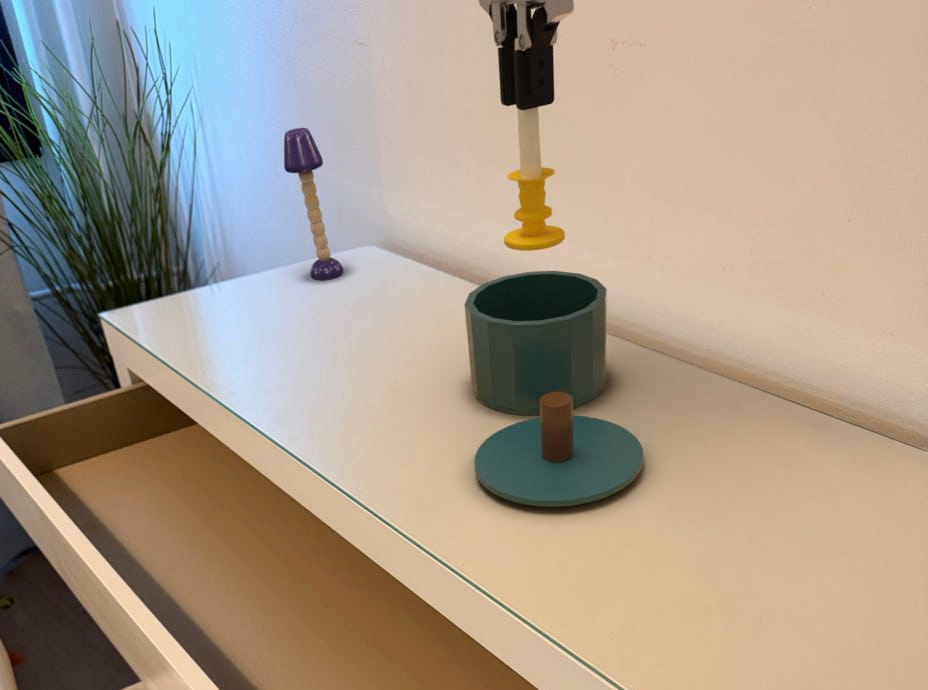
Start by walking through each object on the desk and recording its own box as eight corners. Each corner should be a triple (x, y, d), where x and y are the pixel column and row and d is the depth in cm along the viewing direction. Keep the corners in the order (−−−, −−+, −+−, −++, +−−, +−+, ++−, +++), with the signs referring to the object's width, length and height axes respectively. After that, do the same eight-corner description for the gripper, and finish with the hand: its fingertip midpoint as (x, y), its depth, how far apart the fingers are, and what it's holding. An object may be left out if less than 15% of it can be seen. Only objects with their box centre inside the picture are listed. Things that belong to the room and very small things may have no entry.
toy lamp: (310, 283, 117) (281, 137, 106) (303, 272, 121) (274, 130, 110) (347, 275, 118) (322, 129, 107) (338, 265, 121) (313, 122, 111)
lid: (526, 416, 85) (522, 351, 81) (669, 445, 78) (673, 375, 74) (443, 490, 76) (435, 422, 72) (597, 529, 70) (597, 456, 66)
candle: (495, 239, 82) (480, 30, 72) (550, 227, 83) (542, 19, 73) (517, 255, 78) (504, 36, 68) (574, 242, 79) (569, 24, 69)
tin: (514, 348, 96) (509, 265, 90) (627, 367, 90) (629, 278, 85) (448, 401, 88) (439, 313, 83) (567, 425, 83) (565, 332, 77)
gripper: (631, -227, 57) (625, 108, 69) (505, -202, 68) (518, 83, 80) (527, -215, 55) (538, 129, 67) (413, -191, 66) (441, 100, 78)
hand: (527, 102), depth 74 cm, fingers closed on candle
